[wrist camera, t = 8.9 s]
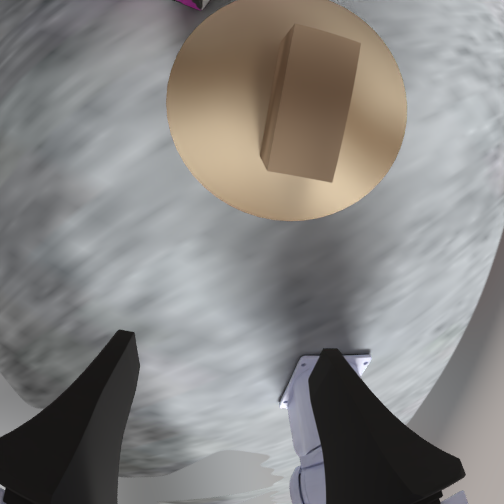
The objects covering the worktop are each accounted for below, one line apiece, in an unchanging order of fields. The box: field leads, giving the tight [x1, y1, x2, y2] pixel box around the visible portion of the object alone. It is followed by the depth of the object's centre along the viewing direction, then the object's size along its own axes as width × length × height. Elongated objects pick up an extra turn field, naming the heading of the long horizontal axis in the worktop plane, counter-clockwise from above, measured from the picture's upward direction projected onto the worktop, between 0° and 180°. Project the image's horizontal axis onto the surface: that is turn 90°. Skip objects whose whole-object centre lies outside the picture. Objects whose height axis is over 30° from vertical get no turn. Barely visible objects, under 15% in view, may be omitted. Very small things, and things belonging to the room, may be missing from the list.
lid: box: [166, 0, 407, 221], centre depth 9 cm, size 10×10×4 cm
